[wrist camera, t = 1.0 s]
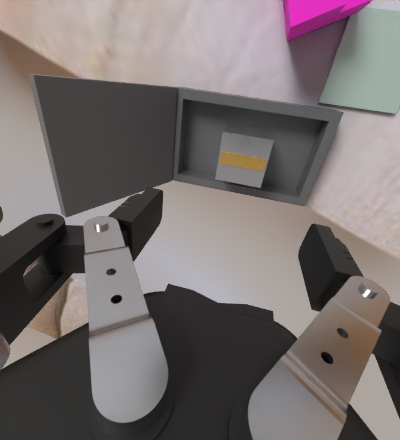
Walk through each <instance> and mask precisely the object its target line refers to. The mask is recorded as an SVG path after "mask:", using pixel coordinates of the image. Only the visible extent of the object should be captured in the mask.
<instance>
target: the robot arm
mask: <svg viewBox="0 0 400 440" xmlns="http://www.w3.org/2000/svg"><path fill="white" fill-rule="evenodd" d="M162 205H163V191H162V190H159V189H154V188H150V187H149V188H147V189H146V190H145V191H144V192H143V193H142V194H136V195H134V196H131V197H129V198H128V199H127V200H126V201H125V202H124V203H123V204H121V206H119V207H118V208H117V209H116V210H115V211H113V212H112V213H111V214H110V215H109V216H108V217H107V216H102V217H95V218H92V219H90V220H88V221H87V222H85V224H84V226H72V225H65V220H64V218H63V217H62V216H60V215H57V214H43V215H38V216H35V217H33V218H31V219H29V220H28V221H26V222H24V223H23V224H21V225H20V226H18V227H17V228H15V229H14V230H12V231H10V232H9V233H7V234H6V235H4V236H3V237H1V238H0V440H377V438H376V437H375V436H374V434H373V433H372V432H371V430H369V428H368V427H367V425H366V424H365V423H364V422H363V420H362V419H361V418H360V416H359V415H358V414H357V413H356V411H355V410H354V409H353V408H352V406H351V405H350V404H349V402H350V400H351V397H352V395H353V393H354V391H355V389H356V386H357V384H358V382H359V380H360V377H361V375H362V373H363V371H364V369H365V367H366V364H367V362H368V360H369V358H370V355H371V353H372V354H374V355H375V357H376V360H377V362H378V365H379V367H380V370H381V372H382V375H383V377H384V380H385V383H386V385H387V388H388V390H389V393H390V395H391V398H392V401H393V403H394V405H395V408H396V411H397V413H398V416H399V418H400V306H399V305H397V304H394V303H392V302H390V297H389V295H388V294H387V292H386V291H385V290H384V289H383V288H382V287H381V286H379V285H378V284H377V283H375V282H373V281H372V280H369V279H367V278H365V277H363V275H362V273H361V271H360V270H359V268H358V266H357V264H356V263H355V261H354V260H353V258H352V256H351V254H350V252H349V251H348V249H347V247H346V246H345V245H344V244H343V243H342V242H341V241H340V240H339V239H338V238H335V236H334V235H333V233H332V231H331V229H330V227H327V226H323V225H318V224H312V225H311V226H310V228H309V230H308V232H307V234H306V236H305V238H304V240H303V242H302V244H301V246H300V249H299V254H298V258H299V262H300V266H301V270H302V274H303V278H304V281H305V286H306V289H307V293H308V297H309V301H310V305H311V308H312V310H316V311H320V313H319V314H318V315H317V316H316V318H315V319H314V320H313V321H312V323H311V324H310V325H309V326H308V327H307V329H306V330H305V331H304V332H303V333H302V335H301V336H300V337H299V338H298V339H297V338H296V337H295V336H294V335H293V334H292V333H291V332H290V331H289V330H287V329H286V328H285V327H283V326H282V325H280V324H279V323H277V322H275V321H274V319H273V311H270V310H266V309H262V308H258V307H254V306H251V305H247V304H227V303H217V302H215V301H213V300H211V299H209V298H207V297H205V296H203V295H201V294H199V293H197V292H195V291H193V290H190V289H186V288H182V287H178V286H174V285H171V284H168V286H167V288H166V290H165V291H159V292H151V293H146V294H143V292H142V289H141V286H140V283H139V279H138V276H137V273H136V270H135V266H134V263H133V262H134V261H135V259H136V258H137V256H138V255H139V253H140V252H141V251H142V249H143V248H144V246H145V245H146V243H147V242H148V240H149V239H150V238H151V236H152V235H153V233H154V232H155V230H156V229H157V227H158V226H159V224H160V222H161V218H162ZM35 260H37V263H38V264H37V265H36V266H35V267H34V268H33V269H31V270H30V271H29V272H28V273H27V274H26V275H25V276H24V277H23V274H24V272H25V270H26V268H27V267H28V266H29V265H30V264H32V263H33V262H34V261H35ZM73 273H85V275H86V290H87V305H88V319H89V322H88V323H86V324H85V325H83V326H81V327H79V328H77V329H75V330H73V331H71V332H70V333H68V334H66V335H64V336H62V337H60V338H58V339H57V340H55V341H53V342H51V343H49V344H47V345H45V346H43V347H42V348H40V349H38V350H36V351H34V352H33V353H30V354H29V355H27V356H25V357H23V358H21V359H19V360H17V361H15V362H14V363H12V364H10V365H8V366H7V367H5V368H3V366H4V365H5V363H6V362H7V359H8V358H9V355H10V346H9V345H10V344H11V343H12V342H13V341H14V340H15V338H16V337H17V336H18V335H19V334H20V333H21V332H22V331H23V329H24V328H25V327H26V326H27V325H28V324H29V323H30V321H31V320H32V319H33V318H34V317H35V316H36V315H37V314H38V312H39V311H40V310H41V309H42V308H43V307H44V306H45V304H46V303H47V302H48V301H49V300H50V299H51V298H52V296H53V295H54V294H55V293H56V292H57V291H58V290H59V289H60V287H61V286H62V285H63V284H64V283H65V282H66V281H67V279H68V278H69V277H70V276H71V275H72V274H73ZM2 368H3V369H2Z"/></svg>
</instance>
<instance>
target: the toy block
mask: <svg viewBox="0 0 400 440" xmlns="http://www.w3.org/2000/svg"><path fill="white" fill-rule="evenodd" d="M371 1H372V0H283V8H284V18H285V27H286V36H287V41H289V40H291V39H293V38H296V37H298V36H301V35H303V34H306V33H308V32H311V31H313V30H316V29H318V28H321V27H323V26H326V25H328V24H331V23H333V22H335V21H338V20H340V19H343V18H345V17H348V16H350V15H353V14H355V13H358V12H359V11H360V10H362V9H363V8H364V7H365V6H366V5H368V4H369V3H370V2H371Z"/></svg>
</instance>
